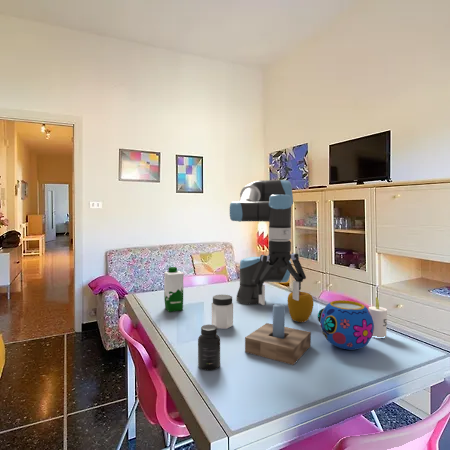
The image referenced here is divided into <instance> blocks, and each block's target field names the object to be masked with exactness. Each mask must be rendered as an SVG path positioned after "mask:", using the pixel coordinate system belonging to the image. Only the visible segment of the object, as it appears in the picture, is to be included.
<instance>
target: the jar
mask: <svg viewBox="0 0 450 450" xmlns="http://www.w3.org/2000/svg"><path fill="white" fill-rule="evenodd" d="M211 325H215V326H216V327H217V329H220V330H221V329H222V330H223V329H225V330H227V329H229V328H230V327H233V326H234V303H233V296H232V295H231V294H216V295H213V296H212V302H211Z"/></svg>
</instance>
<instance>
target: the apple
mask: <svg viewBox="0 0 450 450" xmlns="http://www.w3.org/2000/svg"><path fill="white" fill-rule="evenodd" d="M287 307H288V312H289V315H290V318H291V320H292V321H294V322H296V321H297V323H305V322H307V321H308V320H309V319H310V317H311V315H312V312H313V310H314V298H313V295H312V294H310V293H308V292H305V291H301V290H299V301H297V300H294V299H293V291H291V292H290V293H288V296H287Z"/></svg>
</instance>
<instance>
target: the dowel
mask: <svg viewBox="0 0 450 450" xmlns="http://www.w3.org/2000/svg"><path fill="white" fill-rule="evenodd" d="M285 309H286V306H285V305H284V304H280V303H279V304H277V303H274V304H273V305H272V324H273V337H276V338H281V339H284V329H285V327H286V326H285V324H286V323H285V319H286V318H285V317H286V313H285V311H286V310H285Z"/></svg>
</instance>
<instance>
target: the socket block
mask: <svg viewBox="0 0 450 450" xmlns="http://www.w3.org/2000/svg"><path fill="white" fill-rule="evenodd" d="M311 339H312V332H311V331H308V330H302V329H298V328H293V327H289V326H285V329H284V339H281V338H276V337H273V323H268V322H266V323H265V324H263V325H262V326H260V327H259V328H258V329H257V328H256V329H255V330H254V331H252V332H251V333H249V334H248V335H247V336H245V338H244V352H245V353H247V354H251V355H255V356H258V357H262V358H264V359H265V358H266V359H269V360H273V361H275V362H281V363H284V364H288V365H291V366H295V364H296V363H297V362H298V361H299V360H300V359H301V357H303V355H305V353H307V351H308V350H309V349H310V348H311V346H312V345H311V344H312V342H311V341H312V340H311ZM308 348H309V349H308ZM307 349H308V350H307ZM298 359H299V360H298ZM297 360H298V361H297ZM296 361H297V362H296Z"/></svg>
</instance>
